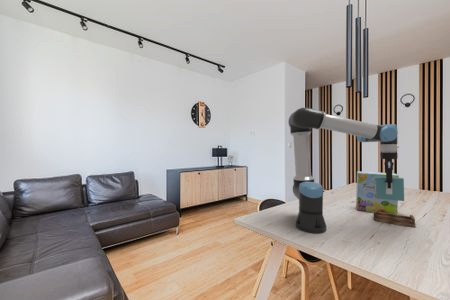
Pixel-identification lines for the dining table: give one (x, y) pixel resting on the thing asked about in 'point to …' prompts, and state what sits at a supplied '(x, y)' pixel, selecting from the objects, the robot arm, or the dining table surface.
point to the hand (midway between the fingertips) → (389, 193)
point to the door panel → (396, 189)
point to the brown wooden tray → (394, 219)
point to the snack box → (372, 194)
